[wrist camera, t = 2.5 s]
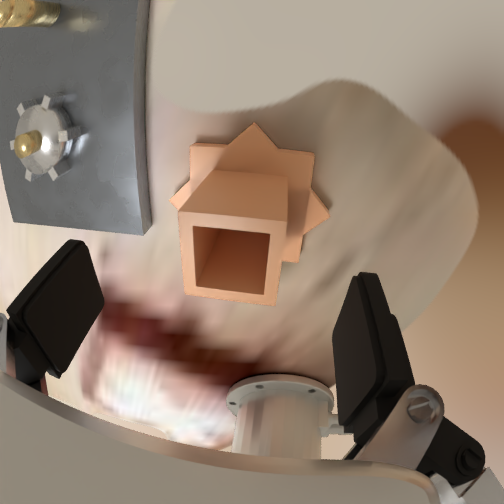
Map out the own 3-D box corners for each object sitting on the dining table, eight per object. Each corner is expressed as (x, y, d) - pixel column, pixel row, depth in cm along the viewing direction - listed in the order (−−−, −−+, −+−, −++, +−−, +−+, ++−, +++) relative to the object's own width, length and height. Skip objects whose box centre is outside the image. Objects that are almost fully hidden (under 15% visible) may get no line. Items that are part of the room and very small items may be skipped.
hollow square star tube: (340, 132, 15) (373, 161, 9) (315, 274, 21) (321, 349, 15) (172, 119, 16) (111, 142, 10) (178, 258, 21) (142, 324, 16)
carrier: (162, -73, 8) (113, -114, 2) (151, 225, 20) (104, 284, 14) (15, -10, 9) (-41, -10, 3) (23, 215, 21) (-25, 253, 15)
